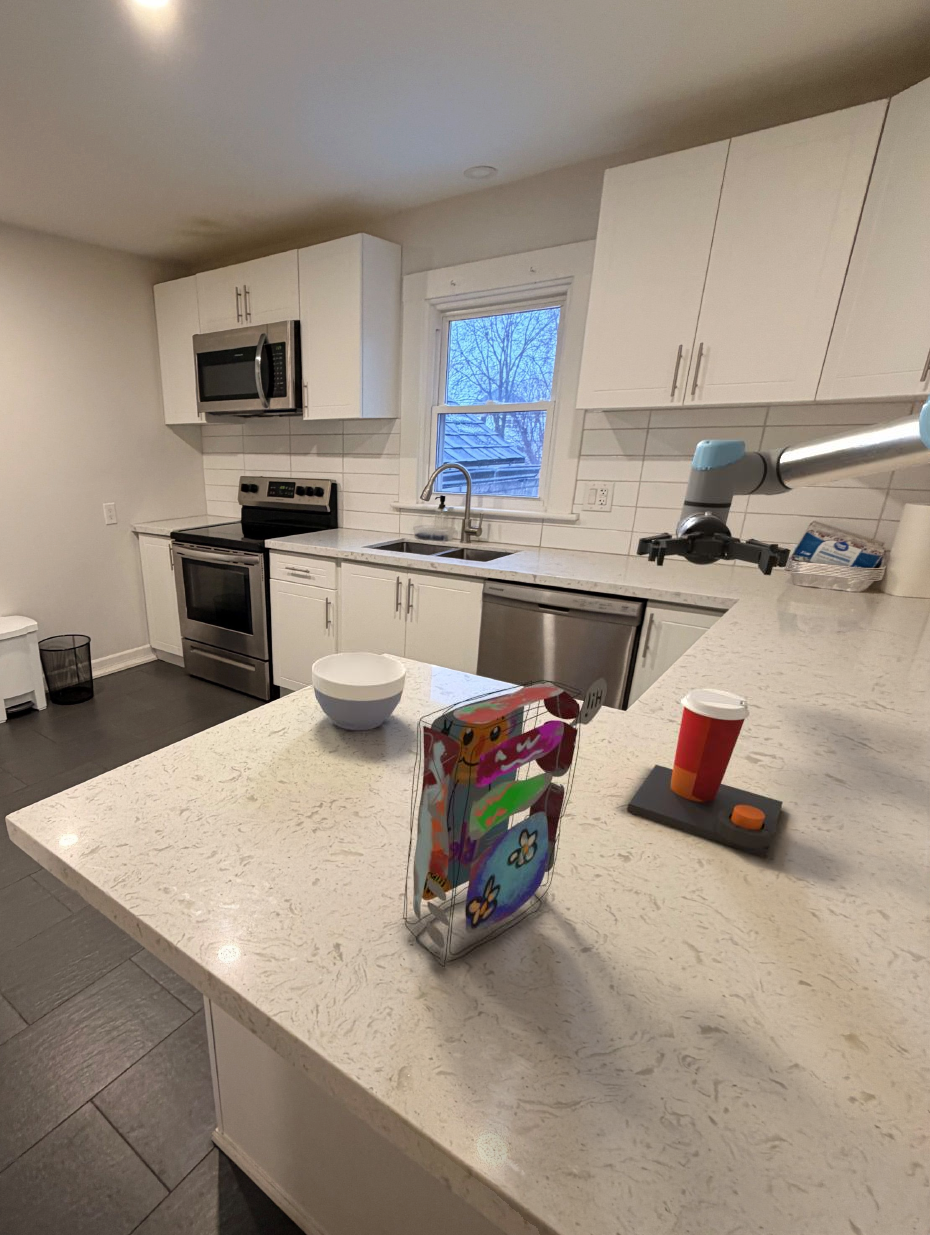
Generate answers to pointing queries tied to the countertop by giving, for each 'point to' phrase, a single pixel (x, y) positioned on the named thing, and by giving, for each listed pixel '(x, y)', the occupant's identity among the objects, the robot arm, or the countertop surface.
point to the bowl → (358, 688)
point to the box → (492, 803)
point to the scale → (706, 812)
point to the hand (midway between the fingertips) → (714, 561)
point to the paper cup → (706, 742)
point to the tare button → (748, 817)
